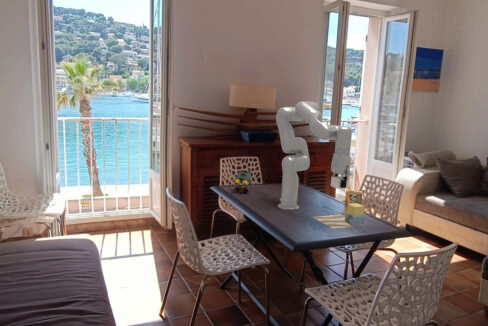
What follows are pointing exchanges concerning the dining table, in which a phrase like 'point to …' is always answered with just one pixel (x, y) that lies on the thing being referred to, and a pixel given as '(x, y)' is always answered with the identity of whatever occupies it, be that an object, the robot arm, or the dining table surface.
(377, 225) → the dining table surface
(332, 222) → the build board
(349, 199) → the candy box
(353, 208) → the mustard block
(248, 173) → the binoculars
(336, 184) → the cream block
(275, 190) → the dining table surface
